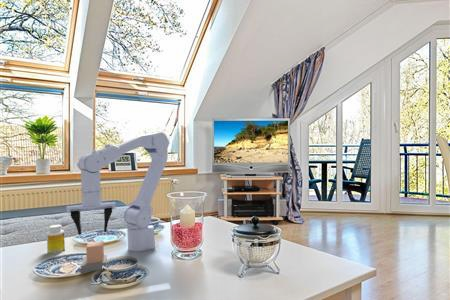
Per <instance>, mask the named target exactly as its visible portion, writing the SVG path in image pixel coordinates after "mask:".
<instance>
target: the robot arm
mask: <svg viewBox="0 0 450 300" xmlns="http://www.w3.org/2000/svg"><path fill="white" fill-rule="evenodd" d="M169 145H170V141H169V139H168V136H167V135H166V134H165V133H164V132H162V131H159V132H151V133H150V132H146V133H144V134H140V135H139V134H138V136H135V137H133V138H131V139H129V140H126V141H125V142H123V143H120V144H119V145H115V144H109V143H107V144H105V145H104V147H102V148H100V149H97V150H96V149H94V150H92V151H91V154H90V153H89V154H87V153H86V154H83V155H81V156H80V158H79V159H78V162H77V164H76V165H77V168H78V169H79V170H80V183H81V185H80V186H81V204H75V205H67V206H66V214H70V218H71V220H73V223H74V224H75V227H76V229H77V230H76V231H77V233H78V236H81V235H82V226H81V225H82V224H81V212H90V211H101V210H103V214H104V215H103V216H104V217H103V218H104V222H103V223H104V227H103V232H104V233H107V231H108V230H107V229H108V224H109V220H110V217H111V215H112V213H113V210H116V208H117V207H116V202H115V201H111V202H110V201H109V202H102V193H101V192H102V189H101V170H102V169H103V168H104V167H107V166H108V165H110V164H112V163H114V162H117V161H119V160H120V159H121V156H122V155H124V154H125V153H128V152H131V151H133V150H135V149H139V148H143V149H144V150H145V151H146V152H147V153H148V155H149V157H150V158H151V160H150V162H149V166H148V169H147V171H146V174H145V176H144V179H143V181H142V183H141V185H140V188H139V191H138V193H137V195H136V198H134V200H132V201H131V202H130V204H129V206H128V208H127V209H125V211H124V213H123V220H124V222H125V223H126V229H127V230H126V231H127V250H128V251H129V252H140V251H141V252H142V251H146V250H153V249H154V250H155V247H156V246H155V245H156V241H155V228H154V225H150V223H151V221H152V212H153V210H154V209H153V206H152V204H151V203H152V200H153V198H154V196H155V193H156V190H157V187H158V184H159V182H160V181H161V180H160V179H161V178H162V174H163V172H164V170H165V167H166V165H167V162H168V158H169V157H168V154H169V153H168V147H169Z"/></svg>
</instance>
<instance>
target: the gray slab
mask: <svg viewBox="0 0 450 300" xmlns="http://www.w3.org/2000/svg"><path fill="white" fill-rule="evenodd" d="M107 261H108V255H107V254H104V259H103V262H96V263H88V264H87V257H83V258H82V261H81V264H82V265H81V264H80V268H81V269H80V270H81V273H88V272H93V271H94V272H95V271H103V270H102V266H103V265H107Z"/></svg>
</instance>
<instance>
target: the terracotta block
mask: <svg viewBox="0 0 450 300" xmlns="http://www.w3.org/2000/svg"><path fill="white" fill-rule="evenodd" d="M104 245H105V244H104V240H100V241H92V242H87V244H86V247H85V252H86V258H87V264H88V263H96V262H103V259H104V255H105V252H104V249H105V248H104V247H105V246H104Z"/></svg>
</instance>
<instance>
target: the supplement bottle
mask: <svg viewBox="0 0 450 300" xmlns="http://www.w3.org/2000/svg"><path fill="white" fill-rule="evenodd" d="M62 227H63V226H62V224H52V225H49V227H48V230H49V231H47V232H46V249H47V254H57V253H63V252H65V251H66V247H65V246H66V245H65V230H64V229H63V228H62Z"/></svg>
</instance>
